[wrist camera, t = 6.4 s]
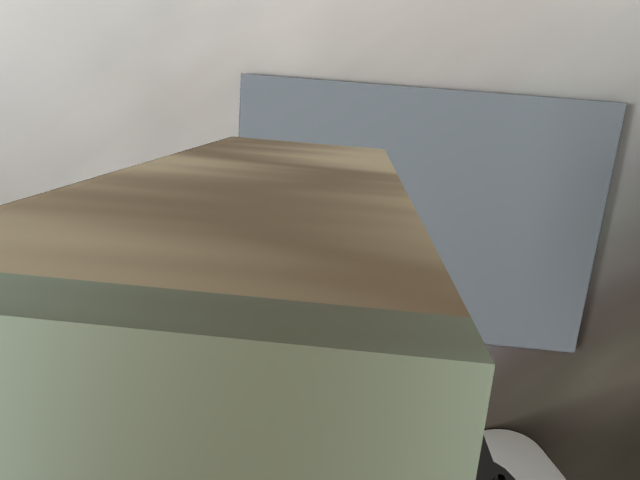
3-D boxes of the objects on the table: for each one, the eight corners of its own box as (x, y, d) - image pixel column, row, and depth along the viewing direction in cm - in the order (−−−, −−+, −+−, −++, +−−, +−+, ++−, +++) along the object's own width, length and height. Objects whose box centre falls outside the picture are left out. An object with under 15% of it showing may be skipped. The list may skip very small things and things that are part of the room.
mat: (233, 315, 33) (231, 319, 33) (243, 74, 30) (241, 73, 29) (570, 348, 32) (574, 352, 32) (621, 103, 29) (626, 103, 28)
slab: (220, 465, 17) (-77, 1250, 5) (231, 136, 14) (-279, 287, 3) (350, 479, 17) (330, 1325, 5) (384, 149, 14) (495, 362, 3)
